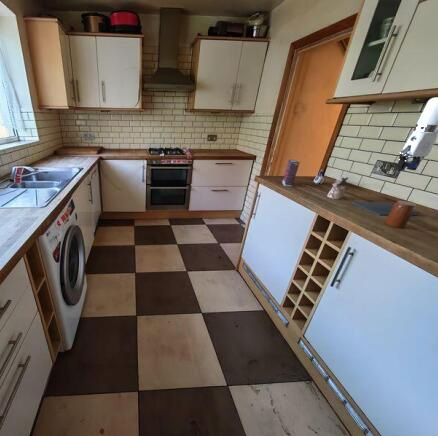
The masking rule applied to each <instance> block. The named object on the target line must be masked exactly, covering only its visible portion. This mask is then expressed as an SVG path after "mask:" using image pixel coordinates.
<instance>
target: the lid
mask: <svg viewBox="0 0 438 436" xmlns="http://www.w3.org/2000/svg"><path fill="white" fill-rule="evenodd" d="M411 161H412V160H408V161H407V162H408V164H407V166H406V168H407V167H412V168H417V169H418V167H419V166H420V164H421V162H420V163H417V162H411Z"/></svg>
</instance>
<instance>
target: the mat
mask: <svg viewBox="0 0 438 436" xmlns="http://www.w3.org/2000/svg"><path fill="white" fill-rule="evenodd" d="M351 204H353V205H355V206H357V207H359V208H361V209H363V210H366V211H367V212H370V213H373V214H375V215H376V216H388V215H389V213H390V211H391V210H392V208H393V206H394V204H392V203H390V202H389V203H388V202H386V201H385V202H376V201H375V202H373V201H372V202H371V201H367V202H366V201H351ZM413 216H415V217H418V216H419V214H418V213H415V212H414V213H413V214H412V216H411V217H413Z"/></svg>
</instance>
